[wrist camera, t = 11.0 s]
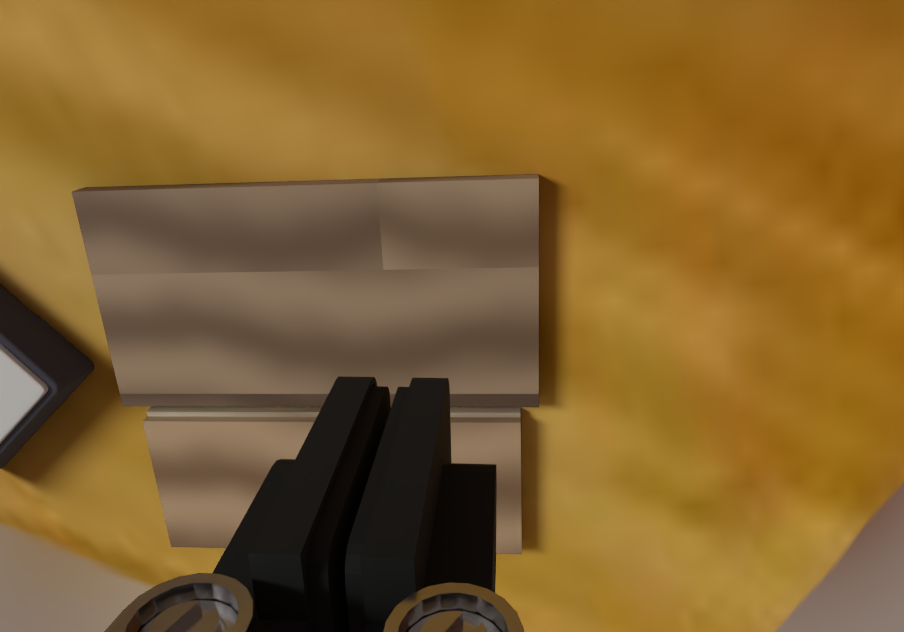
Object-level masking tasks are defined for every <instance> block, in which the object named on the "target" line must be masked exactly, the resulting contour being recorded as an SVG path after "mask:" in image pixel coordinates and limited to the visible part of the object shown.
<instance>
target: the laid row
mask: <svg viewBox="0 0 904 632" xmlns="http://www.w3.org/2000/svg"><path fill="white" fill-rule="evenodd" d="M72 195H73V199H74V203H75V207H76V212H77V216H78V220H79V224H80V228H81V233H82V237H83V241H84V245H85V249H86V254H87V258H88V262H89V266H90V271H91V275H92V279H93V283H94V287H95V292H96V296H97V300H98V304H99V308H100V313H101V317H102V321H103V325H104V329H105V334H106V338H107V342H108V346H109V351H110V355H111V359H112V363H113V367H114V372H115V376H116V380H117V384H118V388H119V393H120V397H121V401H122V406H288V407H322V406H323V404H324V402H325V400H326V398H327V396H328V394H329V392H330V390H331V388H332V386H333V384H334V382H335V380H336V379H337V377H338V376H342V377H375V379H376V382H377V386H386V387H388V388H389V392H390V404H391V406H392V403H393V400H394V397H395V394H396V391H397V388H398V387H409V386H410V383H411V380H412V378H448V379H449V387H450V407H539V176H538V174H526V175H492V176H457V177H423V178H389V179H355V180H321V181H286V182H252V183H218V184H184V185H150V186H115V187H85V188H82V189H79V190H76V191H73V192H72Z"/></svg>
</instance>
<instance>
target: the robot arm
mask: <svg viewBox="0 0 904 632" xmlns="http://www.w3.org/2000/svg"><path fill="white" fill-rule="evenodd" d="M496 501H497V472H496V464H461V463H452V461H451V422H450V387H449V379H448V378H412V380H411V383H410V386H409V387H398V388H397V391H396V394H395V397H394V400H393V403H392V406H391V404H390V392H389V388H388V387H386V386H377V382H376V379H375V377H342V376H338V377H337V379H336V380H335V382H334V384H333V386H332V388H331V390H330V392H329V394H328V396H327V398H326V400H325V402H324V404H323V406H322V408H321V410H320V412H319V414H318V416H317V418H316V420H315V422H314V424H313V426H312V428H311V430H310V432H309V433H308V435H307V437H306V439H305V441H304V443H303V445H302V447H301V449H300V451H299V453H298V455H297V457H296V459H279V460H276V462H275V463H274V464H273V466H272V467H271V469H270V471H269V473H268V474H267V476H266V478H265V480H264V482H263V483H262V485H261V487H260V489H259V491H258V492H257V494H256V496H255V498H254V500H253V501H252V503H251V505H250V507H249V509H248V510H247V512H246V514H245V516H244V518H243V519H242V521H241V523H240V525H239V527H238V528H237V530H236V532H235V534H234V536H233V537H232V539H231V541H230V543H229V545H228V546H227V548H226V550H225V552H224V554H223V555H222V557H221V559H220V561H219V563H218V564H217V566H216V568H215V570H214V572H213V573H197V574H192V575H186V576H180V577H177V578H174V579H172V580H169V581H166V582H164V583H161V584H158V585H157V586H155V587H153V588H152V589H150V590H148V591H147V592H145V593H143V594H142V595H140V596H138V597H137V598H136V599H135V600H134V601H133V602H132V603H131V604H130V605H128V606H127V607H126V608H125V609H124V610H123V611H122V612H121V614H119V616H118V617H117V618H116V619H115V620H114V621H113V622H112V624H111V625H110V626H109V627H108V628H107V629H106V631H105V632H524V628H523V626H522V623H521V621H520V619H519V616H518V614H517V612H516V611H515V610H514V609H513V608H512V606H511V605H510V604H509V603H508V602H507V601H506V600H505V599H504V598H502V597H501V596H499V595H497V594H496V593H495V575H496Z"/></svg>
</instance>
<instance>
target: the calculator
mask: <svg viewBox="0 0 904 632" xmlns="http://www.w3.org/2000/svg"><path fill="white" fill-rule="evenodd" d="M93 369H94V364H93V362H92V361H91V360H90V359H89V358H88V357H87V356H86V355H84V354H83V353H82V352H81V351H80V350H79V349H77V348H76V347H75V346H74V345H73V344H71V343H70V342H69V341H68V340H67V339H66V338H64V337H63V336H62V335H61V334H60V333H59V332H57V331H56V330H55V329H54V328H53V327H52V326H50V325H49V324H48V323H47V322H46V321H44V320H43V319H42V318H41V317H40V316H38V315H36V314H34V313H31V312H30V311H29V310H28V309H27V308H25V307H24V306H23V305H22V304H21V303H20V302H19V301H18V300H17V299H15V298H14V297H13V296H12V295H11V294H10V293H9V292H8V291H7V290H6V289H4V288H3V287H2V286H1V285H0V468H2V467H3V466H4V465H6V464H7V462H8V461H9V460H10V459H11V458H12V457H13V456H14V455H15V454H16V453H17V452H18V451H19V450H20V448H21V447H22V446H23V445H24V444H25V443H26V442H27V441H28V440H29V439H30V438H31V437H32V436H33V434H34V433H35V432H36V431H37V430H38V429H39V428H40V427H41V426H42V425H43V424H44V423H45V421H46V420H47V419H48V418H49V417H50V416H51V415H52V414H53V413H54V412H55V411H56V410H57V409H58V407H59V406H60V405H61V404H62V403H63V402H64V401H65V400H66V399H67V398H68V397H69V396H70V395H71V393H72V392H73V391H74V390H75V389H76V388H77V387H78V386H79V385H80V384H81V383H82V382H83V380H84V379H85V378H86V377H87V376H88V375H89V374H90V373H91V372H92V371H93Z"/></svg>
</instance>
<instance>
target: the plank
mask: <svg viewBox="0 0 904 632" xmlns="http://www.w3.org/2000/svg"><path fill="white" fill-rule="evenodd" d="M321 408H322V407H151V408H150V409H149V410H148V411H147V417H146V418H145V419H144V420H143V425H144V430H145V434H146V438H147V443H148V447H149V451H150V456H151V460H152V465H153V469H154V473H155V478H156V482H157V486H158V491H159V495H160V500H161V504H162V508H163V513H164V517H165V521H166V526H167V530H168V534H169V539H170V543H171V547H203V548H227V546H228V545H229V543H230V541H231V539H232V537H233V536H234V534H235V532H236V530H237V528H238V527H239V525H240V523H241V521H242V519H243V518H244V516H245V514H246V512H247V510H248V509H249V507H250V505H251V503H252V501H253V500H254V498H255V496H256V494H257V492H258V491H259V489H260V487H261V485H262V483H263V482H264V480H265V478H266V476H267V474H268V473H269V471H270V469H271V467H272V466H273V464H274V463H275V462H276V460H279V459H296V457H297V455H298V453H299V451H300V449H301V447H302V445H303V443H304V441H305V439H306V437H307V435H308V433H309V432H310V430H311V428H312V426H313V424H314V422H315V420H316V418H317V416H318V414H319V412H320V410H321ZM450 422H451V461H452V463H461V464H496V472H497V501H496V554H522V515H521V415H520V408H461V407H450Z"/></svg>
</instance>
